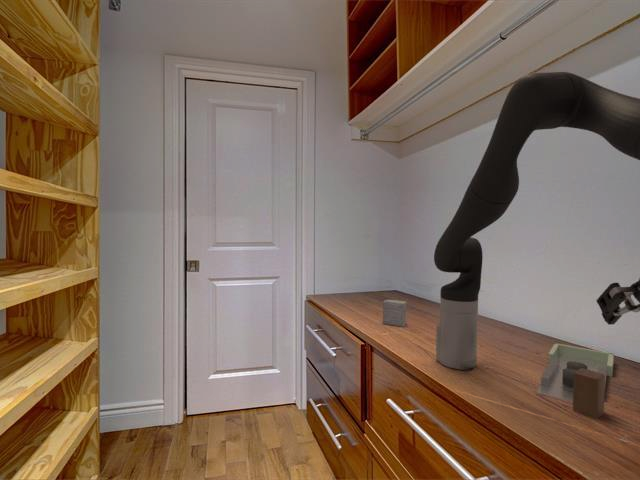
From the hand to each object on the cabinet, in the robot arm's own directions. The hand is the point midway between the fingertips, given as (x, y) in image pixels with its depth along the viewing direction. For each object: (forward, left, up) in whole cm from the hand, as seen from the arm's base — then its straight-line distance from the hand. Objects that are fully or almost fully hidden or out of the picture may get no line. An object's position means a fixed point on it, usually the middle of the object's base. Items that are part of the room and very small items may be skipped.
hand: (636, 318), depth 60 cm
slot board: (-16, +20, -20) cm, 33 cm away
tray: (-18, +31, -20) cm, 41 cm away
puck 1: (-14, +14, -20) cm, 28 cm away
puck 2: (-15, +20, -20) cm, 32 cm away
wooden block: (-7, +2, -21) cm, 22 cm away
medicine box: (-74, +19, -21) cm, 79 cm away
